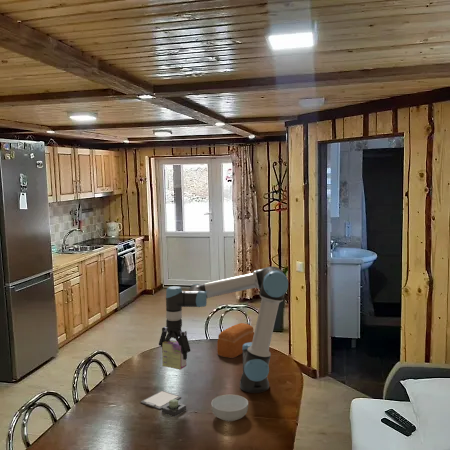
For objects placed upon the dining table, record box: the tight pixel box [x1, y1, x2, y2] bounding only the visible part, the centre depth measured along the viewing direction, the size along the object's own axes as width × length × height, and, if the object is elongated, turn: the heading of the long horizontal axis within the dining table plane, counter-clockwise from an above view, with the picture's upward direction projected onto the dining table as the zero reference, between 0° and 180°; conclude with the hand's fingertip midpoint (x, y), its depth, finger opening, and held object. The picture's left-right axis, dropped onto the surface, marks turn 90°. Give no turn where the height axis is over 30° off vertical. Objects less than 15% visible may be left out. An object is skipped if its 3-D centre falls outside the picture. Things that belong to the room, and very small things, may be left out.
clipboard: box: [140, 390, 182, 411], centre depth 236 cm, size 13×15×1 cm
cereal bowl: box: [210, 393, 249, 422], centre depth 218 cm, size 17×17×7 cm
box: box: [161, 339, 187, 370], centre depth 234 cm, size 10×6×12 cm, turn 65°
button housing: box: [161, 402, 187, 418], centre depth 225 cm, size 8×8×2 cm
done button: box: [169, 399, 179, 409], centre depth 224 cm, size 4×4×2 cm
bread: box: [216, 322, 255, 359], centre depth 302 cm, size 14×26×16 cm, turn 145°
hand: (174, 362), depth 234 cm, fingers closed on box, 11 cm apart
